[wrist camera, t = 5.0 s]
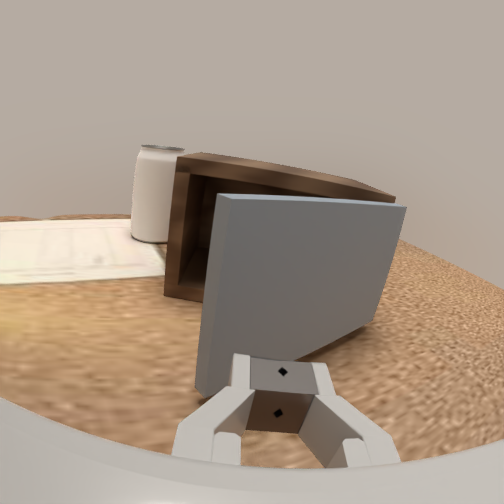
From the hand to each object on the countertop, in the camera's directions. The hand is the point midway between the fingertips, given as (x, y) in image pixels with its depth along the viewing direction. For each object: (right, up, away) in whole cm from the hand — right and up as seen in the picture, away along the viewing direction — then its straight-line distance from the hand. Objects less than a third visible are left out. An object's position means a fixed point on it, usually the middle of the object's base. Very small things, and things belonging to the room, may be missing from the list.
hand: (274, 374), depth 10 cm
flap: (+3, -3, +12) cm, 13 cm away
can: (-14, +6, +32) cm, 36 cm away
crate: (0, +1, +24) cm, 24 cm away
